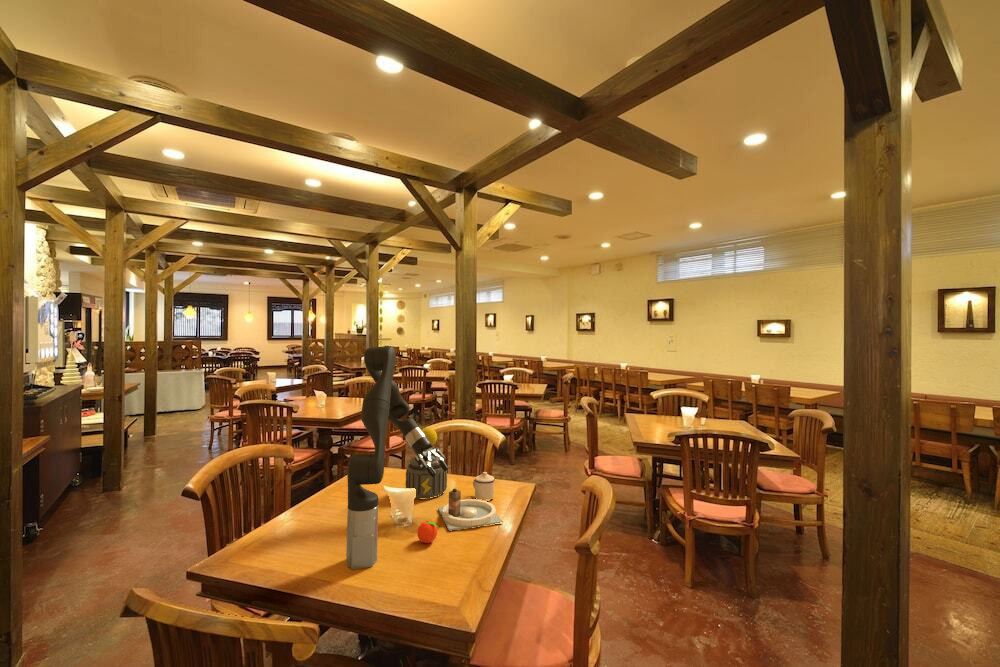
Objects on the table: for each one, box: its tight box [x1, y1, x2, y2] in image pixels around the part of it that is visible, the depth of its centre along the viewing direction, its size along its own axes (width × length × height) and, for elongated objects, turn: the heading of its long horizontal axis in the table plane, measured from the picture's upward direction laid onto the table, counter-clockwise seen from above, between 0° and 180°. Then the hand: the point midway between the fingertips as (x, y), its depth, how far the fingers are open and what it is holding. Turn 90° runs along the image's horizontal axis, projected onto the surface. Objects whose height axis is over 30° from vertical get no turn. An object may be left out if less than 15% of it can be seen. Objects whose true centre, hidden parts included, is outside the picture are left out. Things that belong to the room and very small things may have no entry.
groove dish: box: [437, 498, 504, 532], centre depth 161 cm, size 21×21×3 cm
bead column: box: [448, 488, 462, 517], centre depth 159 cm, size 3×3×11 cm
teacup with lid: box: [472, 471, 495, 500], centre depth 182 cm, size 12×9×12 cm
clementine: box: [416, 520, 439, 544], centre depth 139 cm, size 8×7×7 cm
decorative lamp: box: [404, 427, 448, 498], centre depth 187 cm, size 19×19×30 cm
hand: (440, 473), depth 162 cm, fingers open, 8 cm apart
